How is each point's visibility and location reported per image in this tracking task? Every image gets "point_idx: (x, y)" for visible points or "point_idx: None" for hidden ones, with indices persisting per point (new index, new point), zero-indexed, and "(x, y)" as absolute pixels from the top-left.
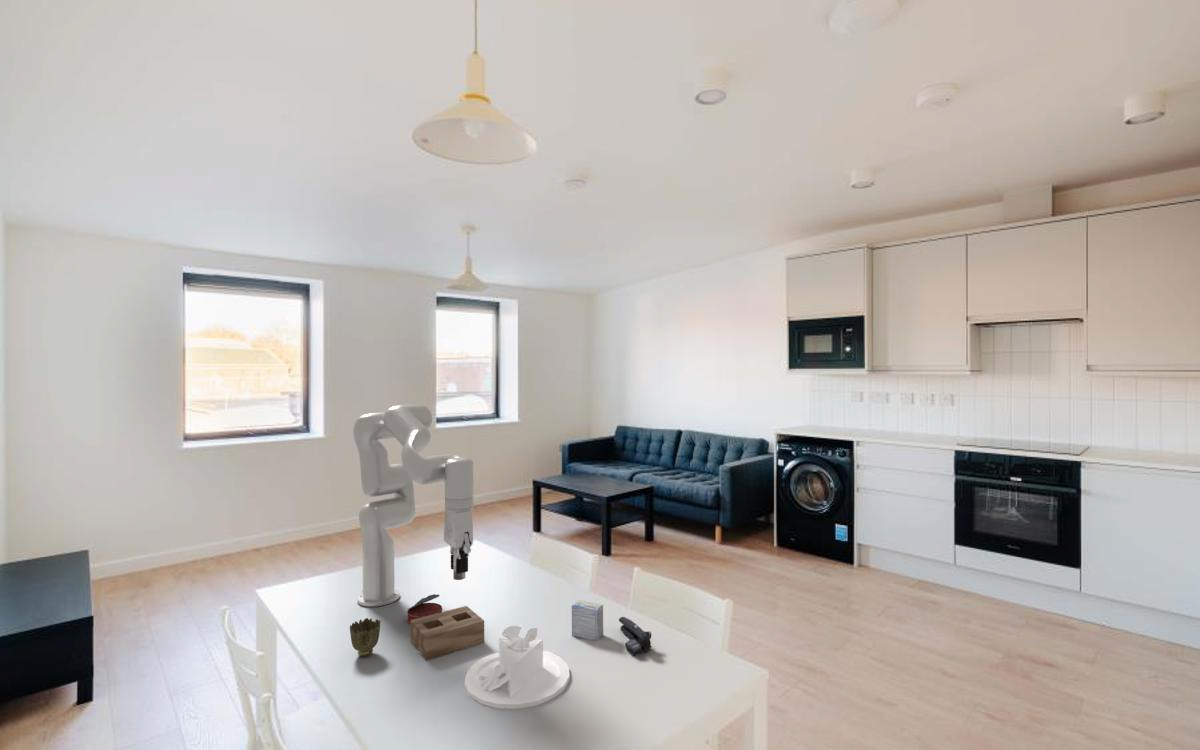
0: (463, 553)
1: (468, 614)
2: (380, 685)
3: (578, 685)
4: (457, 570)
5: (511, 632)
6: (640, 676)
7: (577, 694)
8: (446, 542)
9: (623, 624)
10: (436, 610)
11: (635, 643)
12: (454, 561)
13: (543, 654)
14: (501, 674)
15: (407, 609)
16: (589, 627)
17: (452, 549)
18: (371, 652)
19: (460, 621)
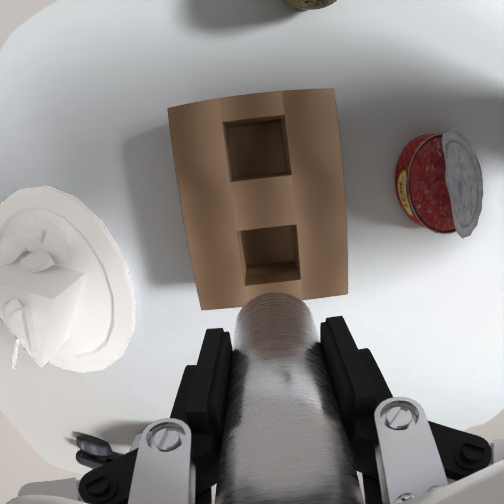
0: (83, 482)
1: (276, 281)
2: (129, 20)
3: (24, 349)
4: (205, 344)
5: (25, 327)
6: (41, 410)
7: (8, 336)
8: (459, 498)
9: None
10: (430, 212)
11: (87, 449)
12: (261, 379)
13: (97, 358)
14: (24, 259)
15: (461, 137)
16: (138, 446)
17: (381, 454)
18: (289, 4)
19: (232, 242)
